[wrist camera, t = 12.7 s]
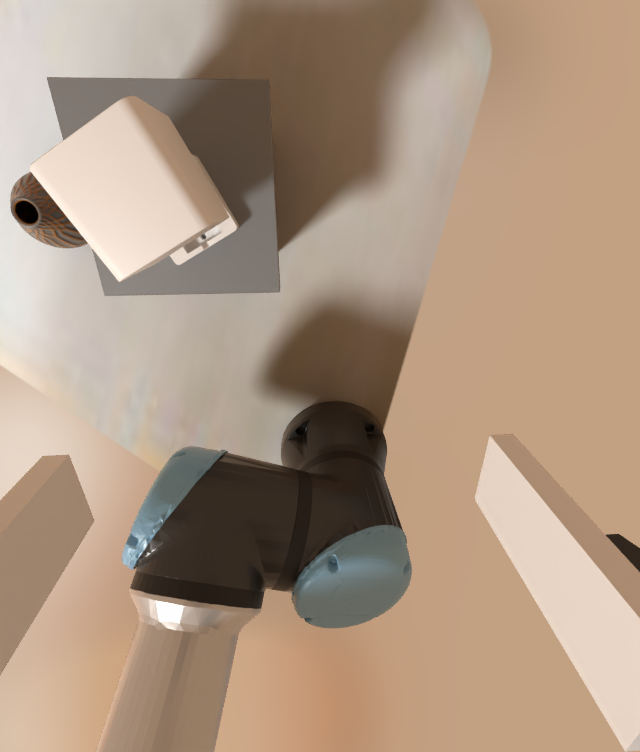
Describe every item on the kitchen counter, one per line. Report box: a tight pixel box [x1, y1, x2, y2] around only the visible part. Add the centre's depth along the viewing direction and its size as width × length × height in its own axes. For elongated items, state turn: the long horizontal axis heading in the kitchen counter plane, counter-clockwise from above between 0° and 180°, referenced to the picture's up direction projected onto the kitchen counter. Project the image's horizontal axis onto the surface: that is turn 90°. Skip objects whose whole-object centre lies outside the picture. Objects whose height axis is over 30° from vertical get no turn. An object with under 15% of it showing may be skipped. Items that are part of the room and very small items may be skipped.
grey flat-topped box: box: [47, 77, 280, 296], centre depth 33 cm, size 14×14×14 cm
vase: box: [10, 172, 88, 248], centre depth 35 cm, size 7×7×9 cm
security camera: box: [29, 96, 239, 282], centre depth 23 cm, size 6×7×10 cm
